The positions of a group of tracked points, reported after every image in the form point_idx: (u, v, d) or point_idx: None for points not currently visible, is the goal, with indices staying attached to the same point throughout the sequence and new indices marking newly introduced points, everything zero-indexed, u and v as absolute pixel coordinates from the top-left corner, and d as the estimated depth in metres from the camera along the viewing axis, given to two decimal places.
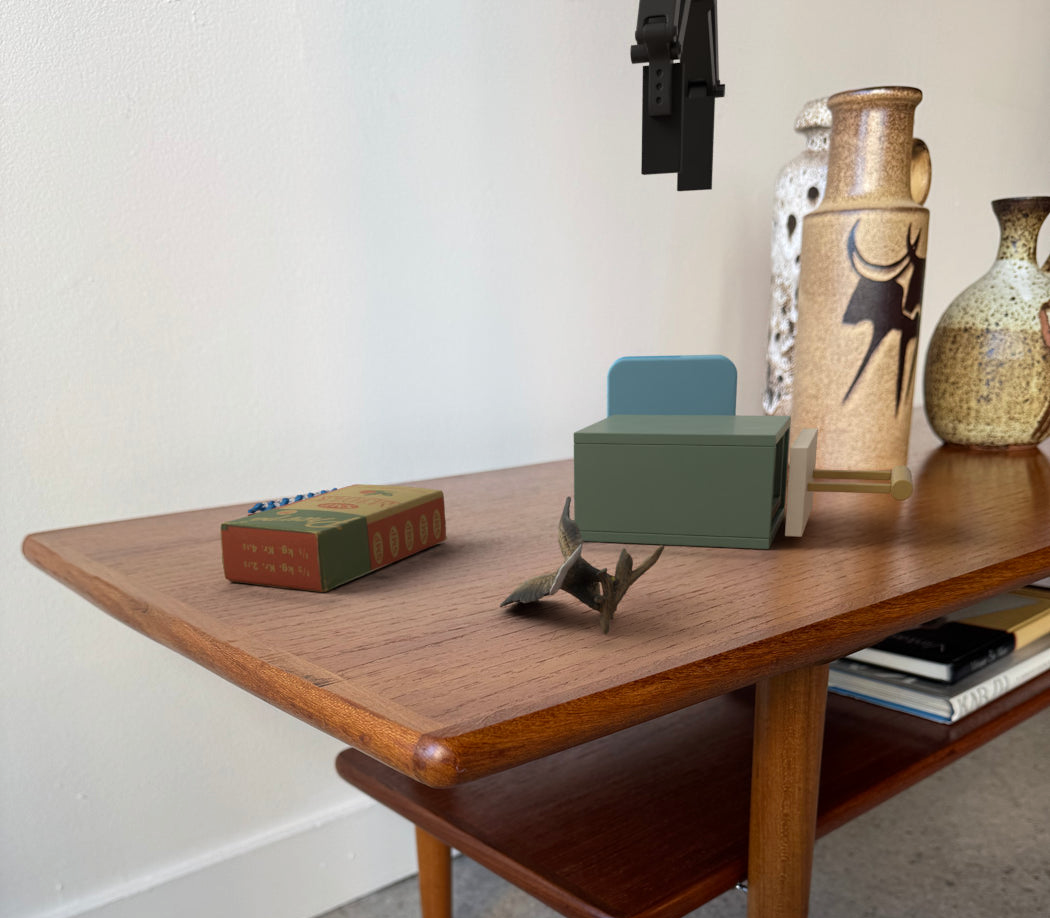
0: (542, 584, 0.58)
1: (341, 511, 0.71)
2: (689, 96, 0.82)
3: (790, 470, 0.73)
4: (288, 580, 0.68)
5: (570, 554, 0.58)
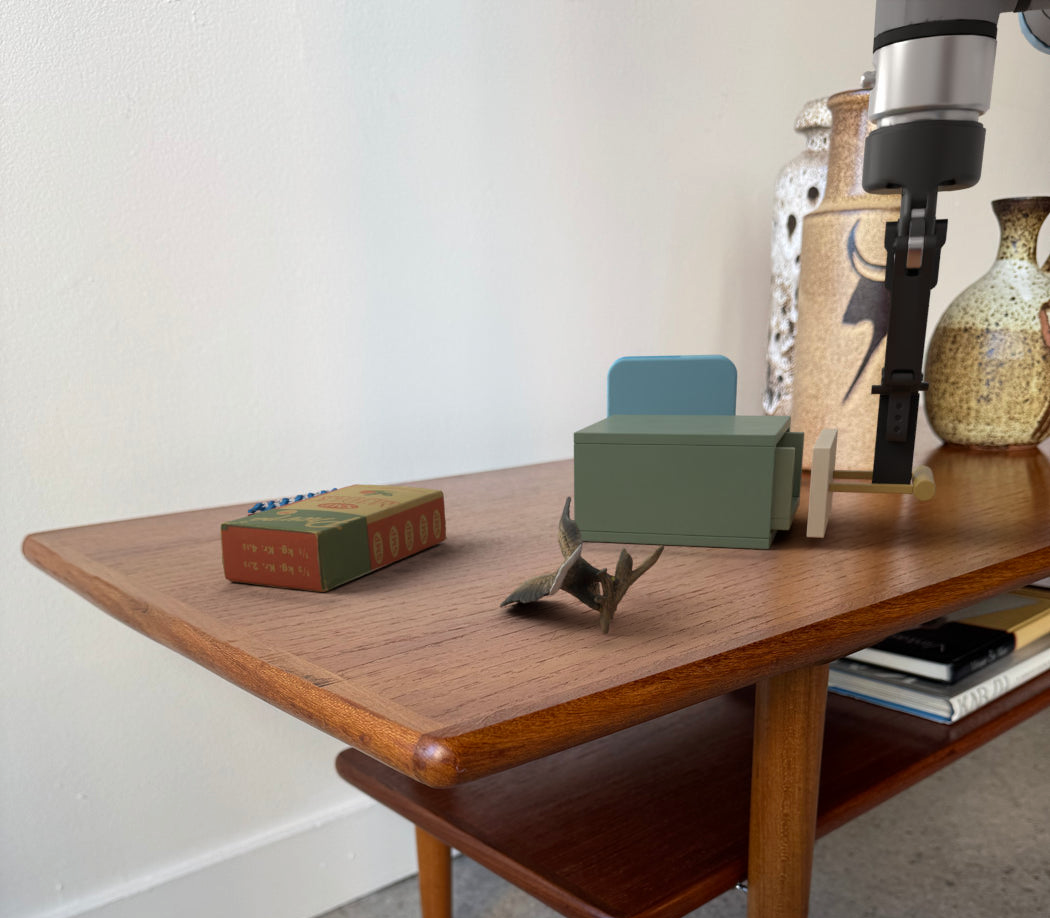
0: (542, 584, 0.58)
1: (341, 511, 0.71)
2: None
3: (812, 471, 0.73)
4: (288, 580, 0.68)
5: (570, 554, 0.58)
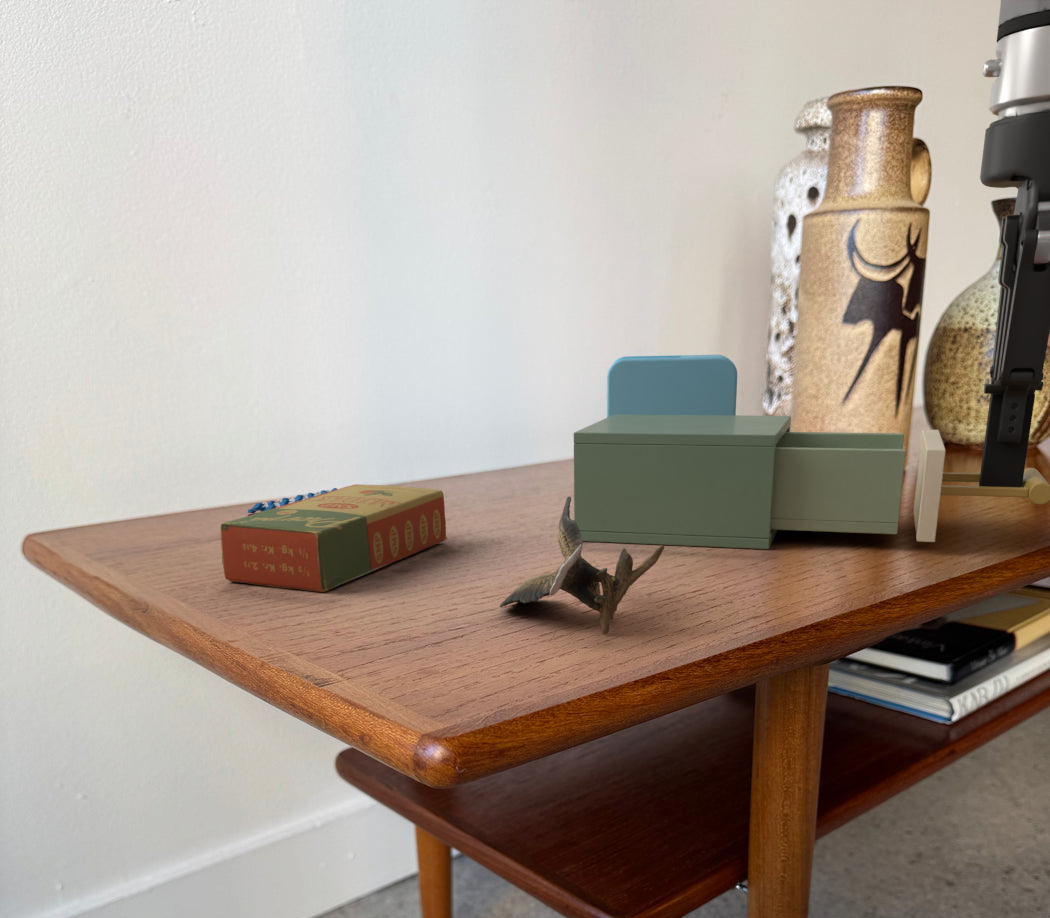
0: (542, 584, 0.58)
1: (341, 511, 0.71)
2: None
3: (925, 473, 0.71)
4: (288, 580, 0.68)
5: (570, 554, 0.58)
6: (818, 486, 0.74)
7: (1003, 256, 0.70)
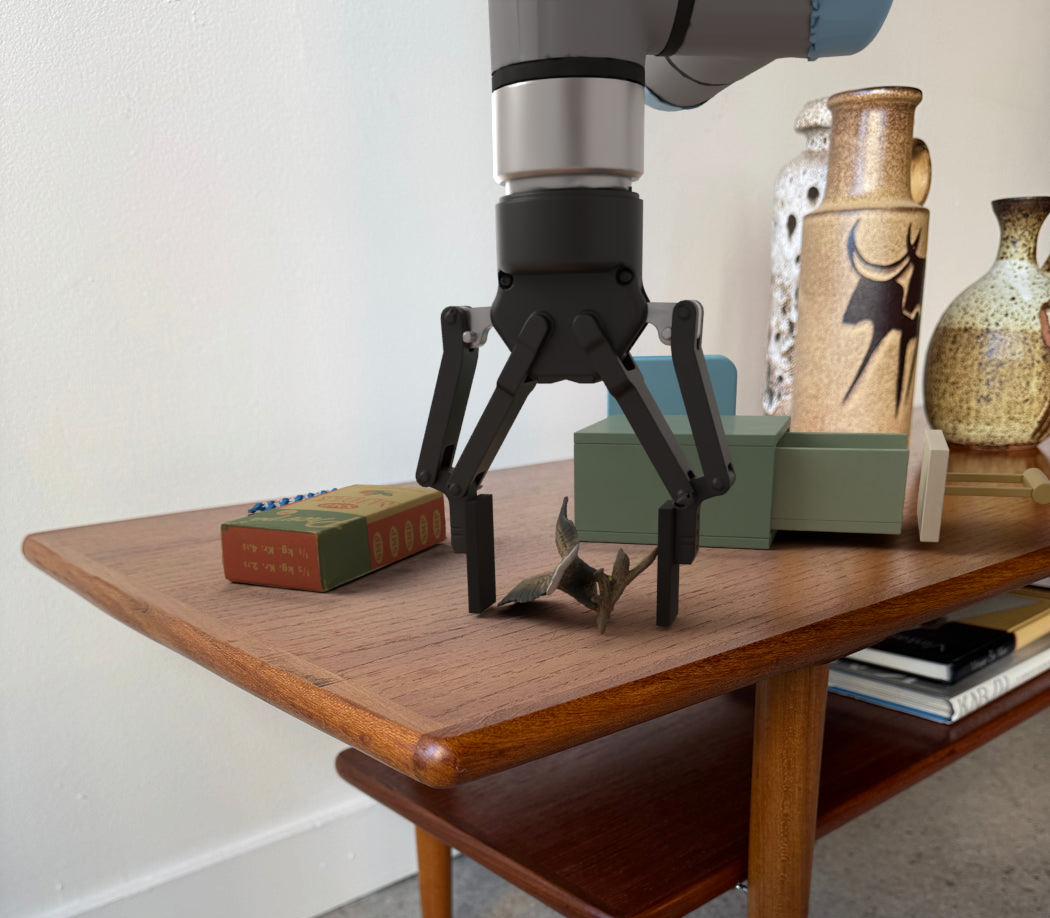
0: (539, 584, 0.58)
1: (341, 511, 0.71)
2: None
3: (929, 473, 0.71)
4: (288, 580, 0.68)
5: (567, 554, 0.58)
6: (821, 486, 0.74)
7: None
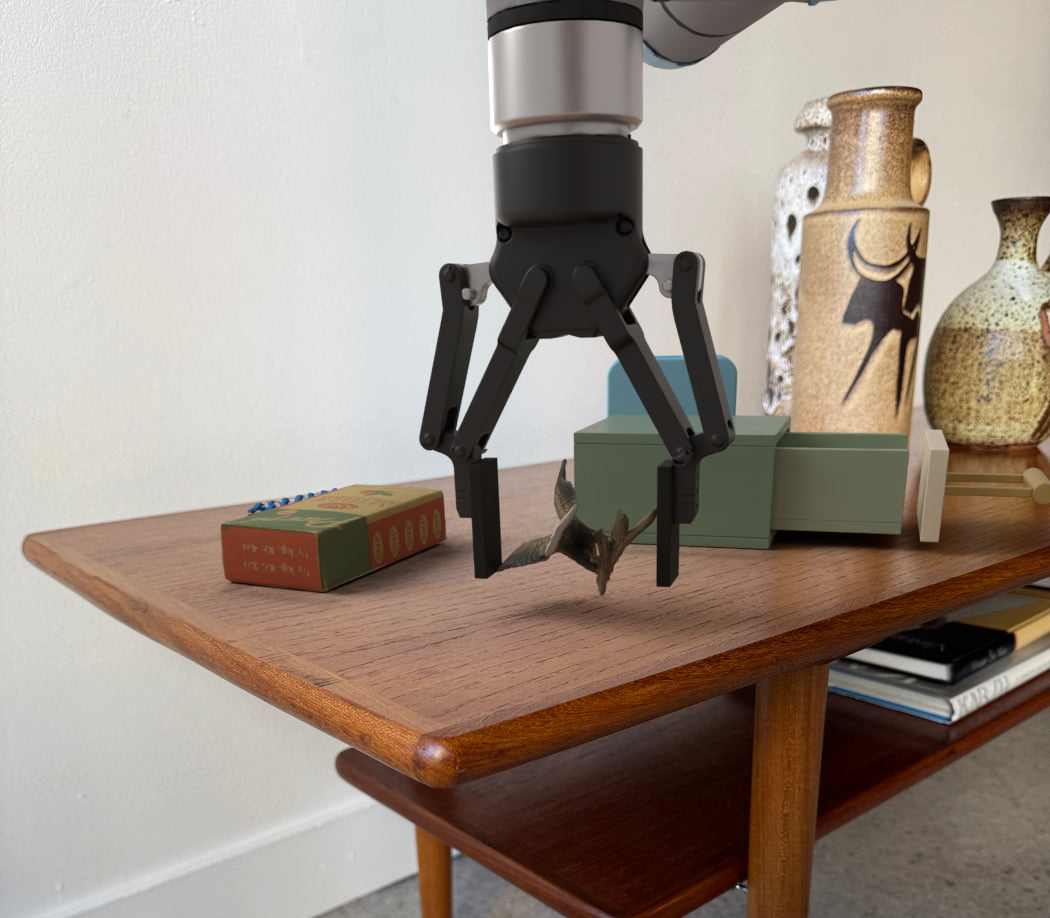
0: (538, 546, 0.58)
1: (341, 511, 0.71)
2: None
3: (929, 473, 0.71)
4: (288, 580, 0.68)
5: (566, 515, 0.57)
6: (821, 486, 0.74)
7: None
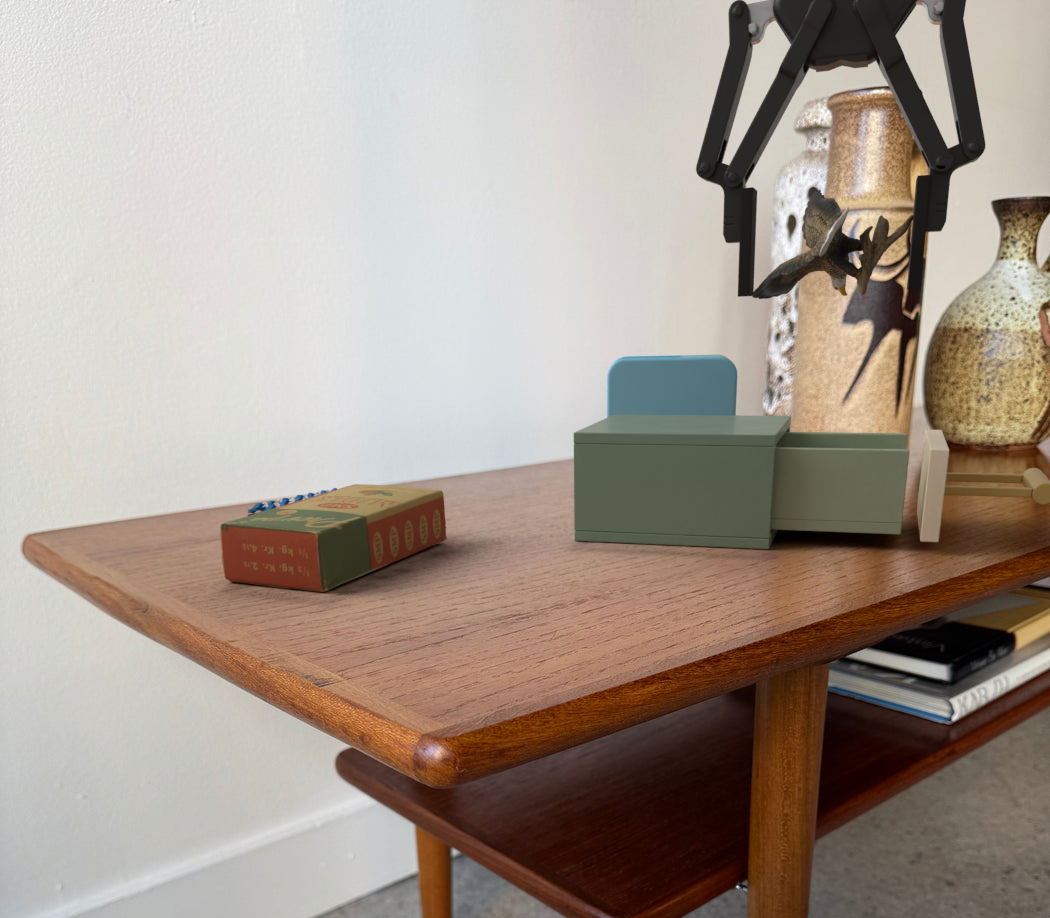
0: (803, 257, 0.67)
1: (341, 511, 0.71)
2: None
3: (929, 473, 0.71)
4: (288, 580, 0.68)
5: (829, 228, 0.66)
6: (821, 486, 0.74)
7: None
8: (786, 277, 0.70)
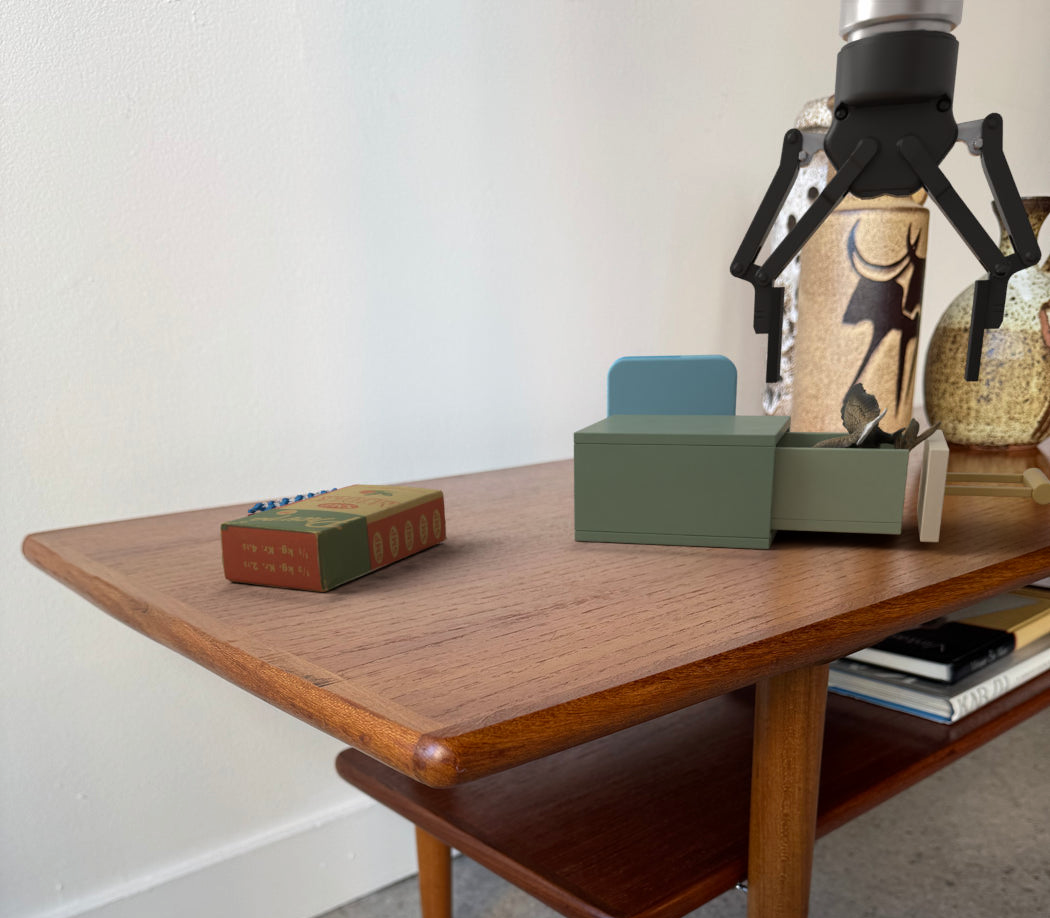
0: (841, 441, 0.75)
1: (341, 511, 0.71)
2: (988, 276, 0.71)
3: (929, 473, 0.71)
4: (288, 580, 0.68)
5: (867, 420, 0.75)
6: (821, 486, 0.74)
7: None
8: None
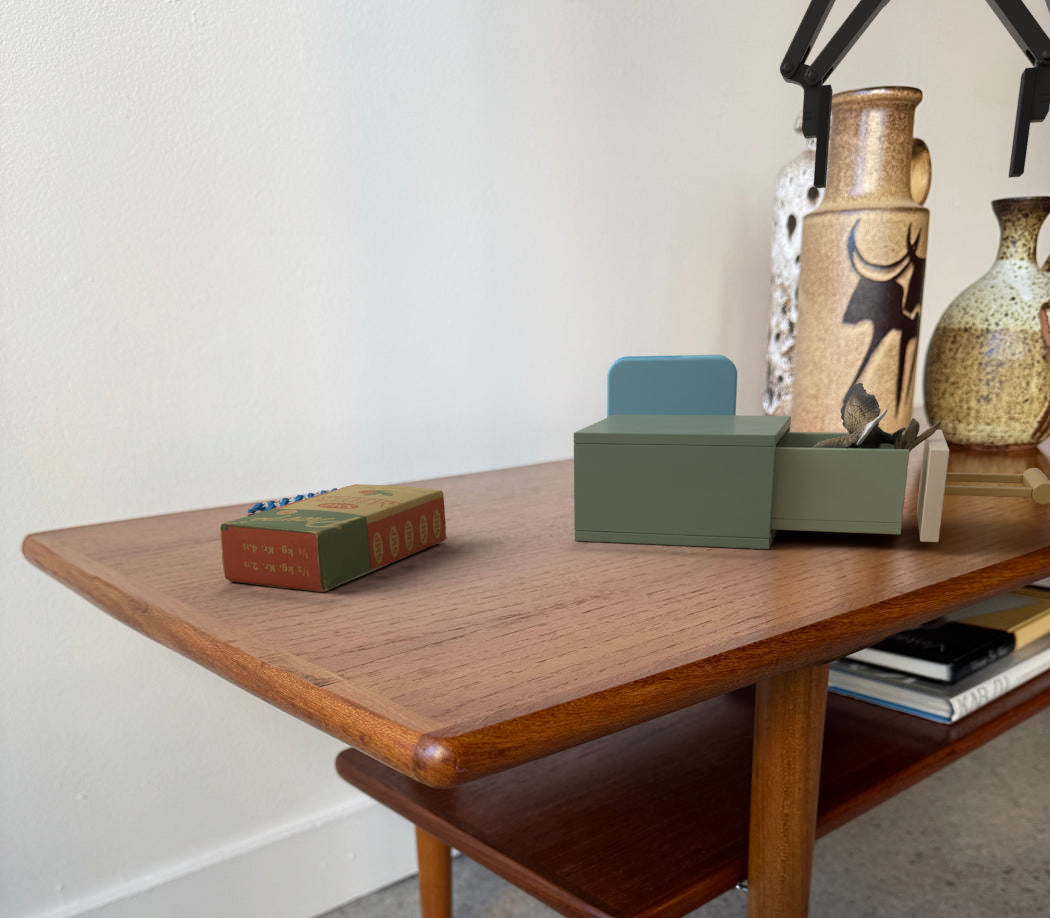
0: (841, 441, 0.75)
1: (341, 511, 0.71)
2: None
3: (929, 473, 0.71)
4: (288, 580, 0.68)
5: (867, 420, 0.75)
6: (821, 486, 0.74)
7: None
8: None
